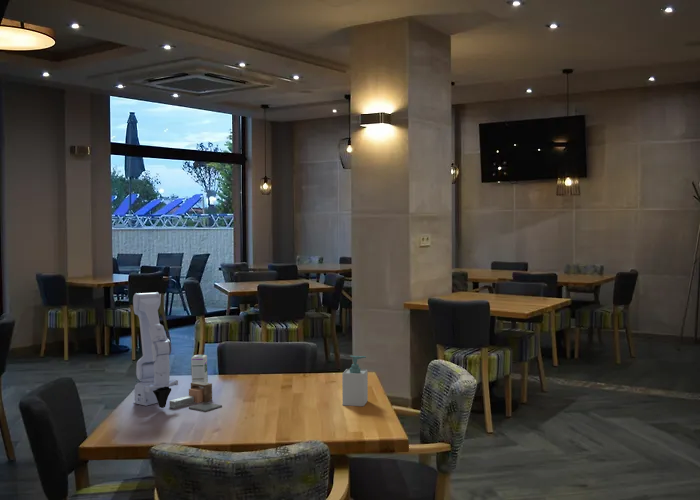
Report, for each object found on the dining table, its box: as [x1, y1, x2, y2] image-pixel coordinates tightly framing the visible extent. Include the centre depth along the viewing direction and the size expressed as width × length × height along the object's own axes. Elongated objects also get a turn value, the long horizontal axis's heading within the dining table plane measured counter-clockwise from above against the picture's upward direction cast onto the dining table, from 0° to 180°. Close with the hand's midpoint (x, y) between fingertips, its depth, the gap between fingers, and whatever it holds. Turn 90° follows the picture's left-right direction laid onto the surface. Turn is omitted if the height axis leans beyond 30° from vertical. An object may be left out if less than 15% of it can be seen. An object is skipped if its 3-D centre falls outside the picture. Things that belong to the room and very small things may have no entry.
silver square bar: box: [169, 394, 195, 409], centre depth 285 cm, size 10×3×3 cm, turn 146°
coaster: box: [188, 401, 223, 413], centre depth 282 cm, size 9×9×1 cm
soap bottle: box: [341, 355, 369, 407], centre depth 287 cm, size 9×9×19 cm
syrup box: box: [190, 354, 209, 388], centre depth 313 cm, size 6×6×14 cm
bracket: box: [190, 381, 213, 403], centre depth 294 cm, size 4×8×7 cm, turn 56°
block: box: [188, 387, 204, 404], centre depth 292 cm, size 5×5×5 cm
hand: (162, 407), depth 277 cm, fingers closed
